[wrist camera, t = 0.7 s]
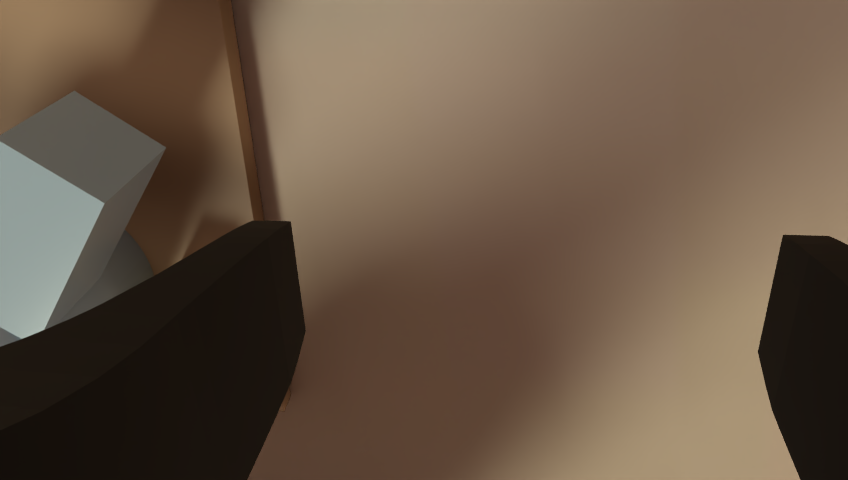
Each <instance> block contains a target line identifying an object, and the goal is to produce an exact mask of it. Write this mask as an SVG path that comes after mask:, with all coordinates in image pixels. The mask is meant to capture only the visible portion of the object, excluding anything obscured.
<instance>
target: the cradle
mask: <svg viewBox="0 0 848 480" xmlns="http://www.w3.org/2000/svg"><path fill="white" fill-rule="evenodd" d="M73 91H76V92H77V93H79V94H80V95H82V96H84V97H85V98H87V99H89V100H90V101H92V102H93V103H95V104H97V105H98V106H100V107H102V108H103V109H105V110H106V111H108V112H110V113H111V114H113V115H114V116H116V117H118V118H119V119H121V120H123V121H124V122H126V123H127V124H129V125H131V126H132V127H134V128H136V129H137V130H139V131H140V132H142V133H144V134H145V135H147V136H148V137H150V138H152V139H153V140H155V141H157V142H158V143H160V144H161V145H163V146H165V147H166V149H165V151H164V153H163V155H162V157H161V159H160V161H159V163H158V165H157V167H156V169H155V171H154V173H153V175H152V177H151V179H150V181H149V183H148V185H147V187H146V189H145V191H144V193H143V195H142V196H141V198H140V200H139V202H138V204H137V206H136V208H135V210H134V212H133V214H132V216H131V218H130V220H129V222H128V224H127V226H126V228H125V230H126V231H127V232H128V233H129V234H130V235H131V236H132V237H133V239H134V240H135V241H136V242H137V244H138V245H139V246H140V248H141V249H142V251H143V252H144V254H145V255H146V257H147V259H148V261H149V263H150V266H151V268H152V271H153V274H154V276H155V275H156V274H158V273H160V272H162V271H163V270H165V269H167V268H169V267H170V266H172V265H174V264H175V263H177V262H179V261H180V260H182V259H184V258H186V257H187V256H189V255H191V254H192V253H194V252H196V251H197V250H199V249H201V248H203V247H204V246H206V245H208V244H209V243H211V242H213V241H214V240H216V239H218V238H220V237H221V236H223V235H225V234H227V233H228V232H230V231H232V230H234V229H236V228H238V227H239V226H242V225H244V224H246V223H248V222H251V221H264V216H263V209H262V202H261V196H260V189H259V183H258V176H257V169H256V163H255V156H254V150H253V143H252V136H251V130H250V123H249V117H248V110H247V103H246V97H245V90H244V84H243V77H242V70H241V64H240V57H239V51H238V44H237V37H236V31H235V24H234V18H233V11H232V5H231V0H0V135H1V134H3V133H5V132H6V131H8V130H10V129H11V128H13V127H15V126H16V125H18V124H20V123H21V122H23V121H25V120H26V119H28V118H30V117H31V116H33V115H35V114H36V113H38V112H40V111H41V110H43V109H45V108H46V107H48V106H50V105H51V104H53V103H55V102H56V101H58V100H60V99H61V98H63V97H65V96H66V95H68V94H70V93H71V92H73ZM290 396H291V394H290V387H289V389H288V391H287V393H286V395H285V398H284V400H283V402H282V404H281V407H280V409H279V411H281V412H284V411H285V408H286V406H287V403H288V401H289V399H290Z"/></svg>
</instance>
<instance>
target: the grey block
mask: <svg viewBox="0 0 848 480" xmlns="http://www.w3.org/2000/svg"><path fill="white" fill-rule="evenodd" d="M165 149H166V147H165V146H163V145H161V144H160V143H158V142H157V141H155V140H153V139H152V138H150V137H148V136H147V135H145V134H144V133H142V132H140V131H139V130H137V129H136V128H134V127H132V126H131V125H129V124H127V123H126V122H124V121H123V120H121V119H119V118H118V117H116V116H114V115H113V114H111V113H110V112H108V111H106V110H105V109H103V108H102V107H100V106H98V105H97V104H95V103H93V102H92V101H90V100H89V99H87V98H85V97H84V96H82V95H80V94H79V93H77V92H76V91H73V92H71V93H70V94H68V95H66V96H65V97H63V98H61V99H60V100H58V101H56V102H55V103H53V104H51V105H50V106H48V107H46V108H45V109H43V110H41V111H40V112H38V113H36V114H35V115H33V116H31V117H30V118H28V119H26V120H25V121H23V122H21V123H20V124H18V125H16V126H15V127H13V128H11V129H10V130H8V131H6V132H5V133H3V134H1V135H0V347H1V346H3V345H6V344H9V343H12V342H15V341H18V340H20V339H23V338H25V337H28V336H31V335H33V334H36V333H38V332H40V331H43V330H45V329H47V328H50V327H52V326H54V325H57V324H59V323H61V322H64V321H66V320H68V319H71V318H73V317H75V316H77V315H79V314H81V313H84V312H86V311H88V310H90V309H92V308H94V307H96V306H98V305H100V304H102V303H104V302H106V301H108V300H110V299H112V298H113V297H115V296H117V295H119V294H121V293H123V292H125V291H127V290H128V289H130V288H132V287H134V286H136V285H138V284H140V283H142V282H143V281H145V280H147V279H149V278H151V277H153V276H154V274H153V271H152V268H151V266H150V263H149V261H148V259H147V257H146V255H145V254H144V252H143V251H142V249H141V248H140V246H139V245H138V244H137V242H136V241H135V240H134V239H133V237H132V236H131V235H130V234H129V233H128V232H127V231H126V230H125V228H126V226H127V224H128V222H129V220H130V218H131V216H132V214H133V212H134V210H135V208H136V206H137V204H138V202H139V200H140V198H141V196H142V195H143V193H144V191H145V189H146V187H147V185H148V183H149V181H150V179H151V177H152V175H153V173H154V171H155V169H156V167H157V165H158V163H159V161H160V159H161V157H162V155H163V153H164V151H165Z"/></svg>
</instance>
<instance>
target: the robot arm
mask: <svg viewBox="0 0 848 480" xmlns="http://www.w3.org/2000/svg"><path fill="white" fill-rule="evenodd" d="M305 331H306V330H305V323H304V315H303V308H302V301H301V293H300V286H299V279H298V271H297V264H296V257H295V249H294V242H293V235H292V227H291V222H289V221H251V222H248V223H246V224H244V225H242V226H239V227H238V228H236V229H234V230H232V231H230V232H228V233H227V234H225V235H223V236H221V237H220V238H218V239H216V240H214V241H213V242H211V243H209V244H208V245H206V246H204V247H203V248H201V249H199V250H197V251H196V252H194V253H192V254H191V255H189V256H187V257H186V258H184V259H182V260H180V261H179V262H177V263H175V264H174V265H172V266H170V267H169V268H167V269H165V270H163V271H162V272H160V273H158V274H156V275H155V276H153V277H151V278H149V279H147V280H145V281H143V282H142V283H140V284H138V285H136V286H134V287H132V288H130V289H128V290H127V291H125V292H123V293H121V294H119V295H117V296H115V297H113V298H112V299H110V300H108V301H106V302H104V303H102V304H100V305H98V306H96V307H94V308H92V309H90V310H88V311H86V312H84V313H81V314H79V315H77V316H75V317H73V318H71V319H68V320H66V321H64V322H61V323H59V324H57V325H54V326H52V327H50V328H47V329H45V330H43V331H40V332H38V333H36V334H33V335H31V336H28V337H25V338H23V339H20V340H18V341H15V342H12V343H9V344H6V345H3V346H1V347H0V480H247V479H248V477H249V474H250V472H251V470H252V468H253V466H254V464H255V461H256V459H257V457H258V455H259V453H260V451H261V448H262V446H263V444H264V442H265V440H266V438H267V435H268V433H269V431H270V429H271V427H272V424H273V422H274V420H275V418H276V416H277V413H278V411H279V409H280V407H281V404H282V402H283V400H284V398H285V395H286V393H287V391H288V389H289V386H290V384H291V381H292V377H293V374H294V371H295V367H296V364H297V361H298V357H299V354H300V350H301V346H302V342H303V339H304V335H305ZM758 354H759V358H760V363H761V367H762V371H763V376H764V380H765V385H766V388H767V392H768V396H769V400H770V403H771V407H772V411H773V413H774V416H775V419H776V421H777V424H778V426H779V429H780V431H781V433H782V436H783V438H784V441H785V443H786V446H787V448H788V451H789V453H790V455H791V458H792V460H793V463H794V465H795V467H796V470H797V472H798V475H799V477H800V479H801V480H848V245H847V244H845V243H843V242H841V241H839V240H837V239H834V238H832V237H830V236H806V235H783V238H782V242H781V247H780V252H779V256H778V261H777V265H776V270H775V275H774V279H773V284H772V289H771V293H770V298H769V303H768V307H767V312H766V317H765V321H764V326H763V331H762V335H761V340H760V345H759V349H758Z"/></svg>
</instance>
